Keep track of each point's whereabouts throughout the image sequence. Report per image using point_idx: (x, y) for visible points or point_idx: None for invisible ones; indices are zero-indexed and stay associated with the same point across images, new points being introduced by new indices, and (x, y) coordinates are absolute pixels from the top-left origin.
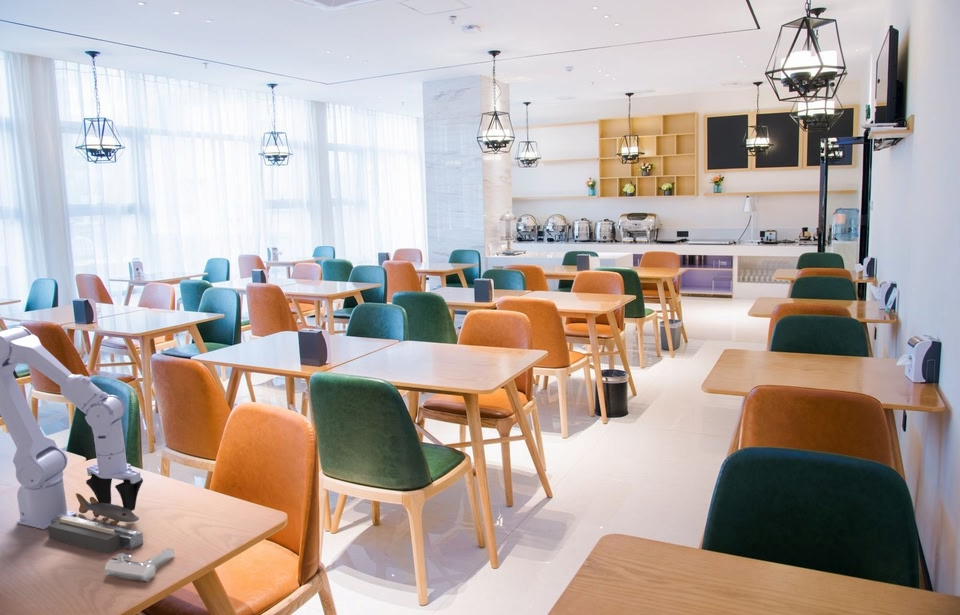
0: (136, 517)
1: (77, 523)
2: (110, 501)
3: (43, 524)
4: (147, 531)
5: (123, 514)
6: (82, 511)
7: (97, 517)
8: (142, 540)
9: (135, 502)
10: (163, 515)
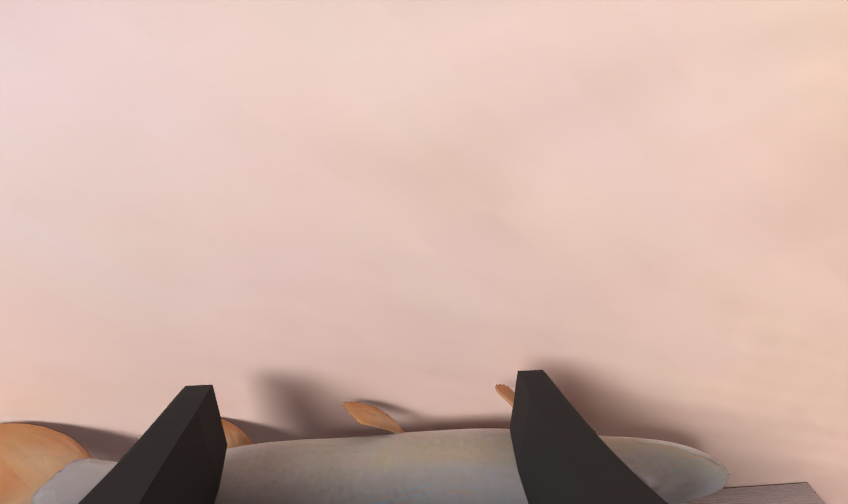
0: (717, 487)
1: None
2: (202, 408)
3: None
4: (749, 402)
5: None
6: (20, 440)
7: (228, 424)
8: (819, 501)
9: (577, 416)
10: (725, 204)
